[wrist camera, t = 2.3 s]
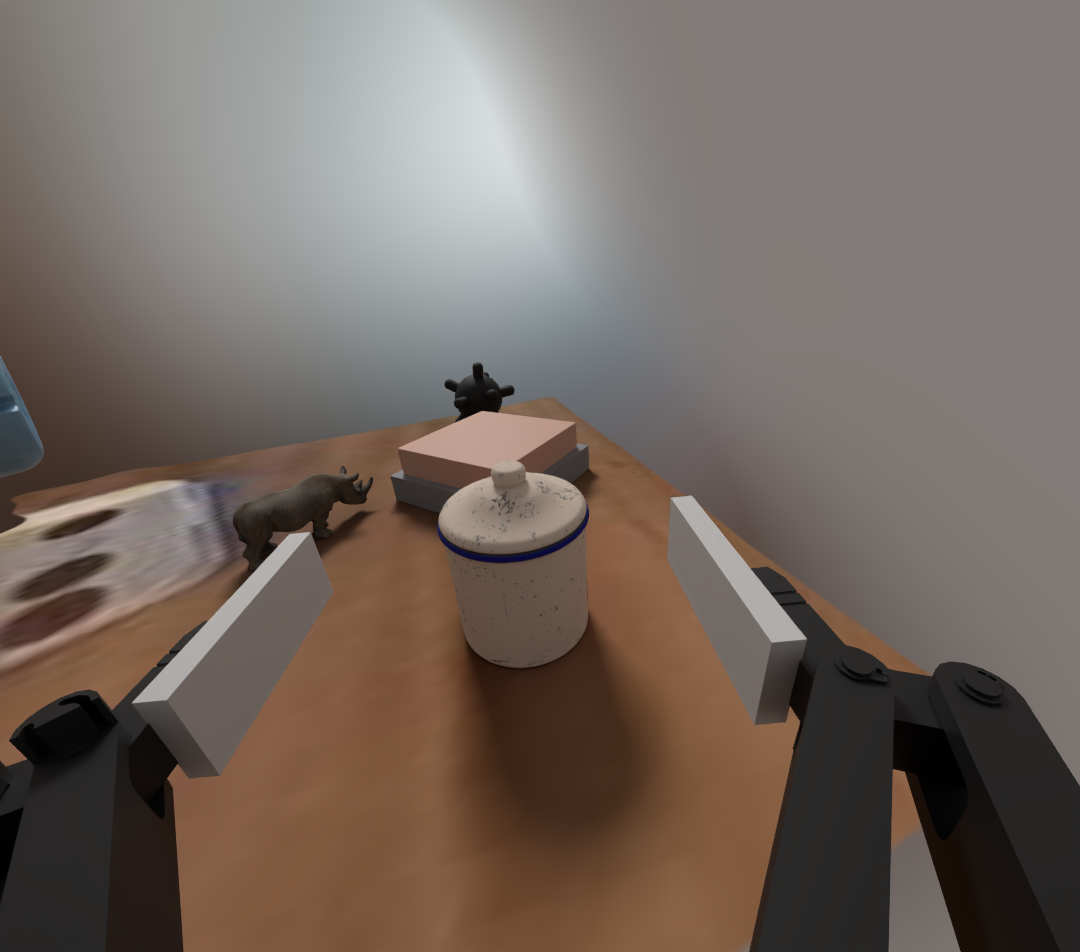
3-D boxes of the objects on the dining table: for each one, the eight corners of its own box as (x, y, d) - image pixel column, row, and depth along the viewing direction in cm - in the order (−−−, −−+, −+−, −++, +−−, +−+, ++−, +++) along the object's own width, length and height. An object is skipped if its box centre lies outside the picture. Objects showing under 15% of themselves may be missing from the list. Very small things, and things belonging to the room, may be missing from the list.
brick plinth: (396, 499, 46) (383, 450, 43) (486, 449, 58) (481, 408, 55) (510, 535, 38) (503, 477, 35) (588, 468, 50) (587, 420, 47)
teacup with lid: (619, 614, 28) (620, 459, 23) (519, 704, 23) (492, 527, 18) (509, 547, 36) (492, 421, 31) (415, 601, 31) (377, 460, 26)
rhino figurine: (391, 506, 45) (378, 456, 42) (256, 577, 35) (227, 518, 33) (370, 498, 47) (356, 449, 45) (237, 562, 38) (210, 505, 35)
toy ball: (501, 392, 75) (536, 384, 65) (475, 442, 73) (507, 442, 63) (452, 357, 70) (482, 343, 60) (423, 411, 68) (449, 405, 58)
